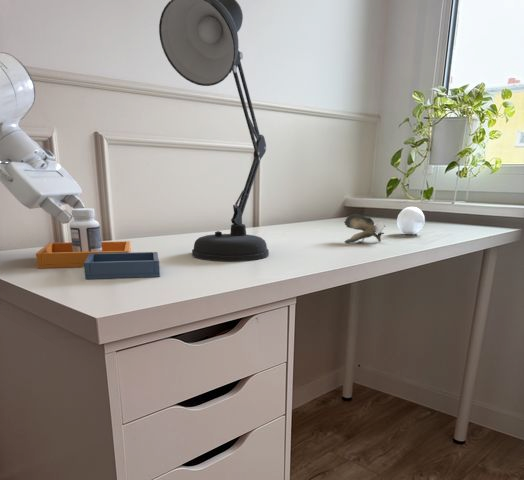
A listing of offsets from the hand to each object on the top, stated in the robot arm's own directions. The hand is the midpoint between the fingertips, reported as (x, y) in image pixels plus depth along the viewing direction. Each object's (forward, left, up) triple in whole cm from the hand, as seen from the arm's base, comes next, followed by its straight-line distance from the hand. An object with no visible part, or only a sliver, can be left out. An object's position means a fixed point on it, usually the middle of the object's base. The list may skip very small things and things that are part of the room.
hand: (78, 219), depth 95 cm
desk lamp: (+28, +2, -8) cm, 29 cm away
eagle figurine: (+64, +17, -8) cm, 67 cm away
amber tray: (+1, 0, -8) cm, 8 cm away
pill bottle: (+1, 0, -7) cm, 7 cm away
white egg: (+84, +30, -8) cm, 90 cm away
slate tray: (+8, -13, -8) cm, 17 cm away
